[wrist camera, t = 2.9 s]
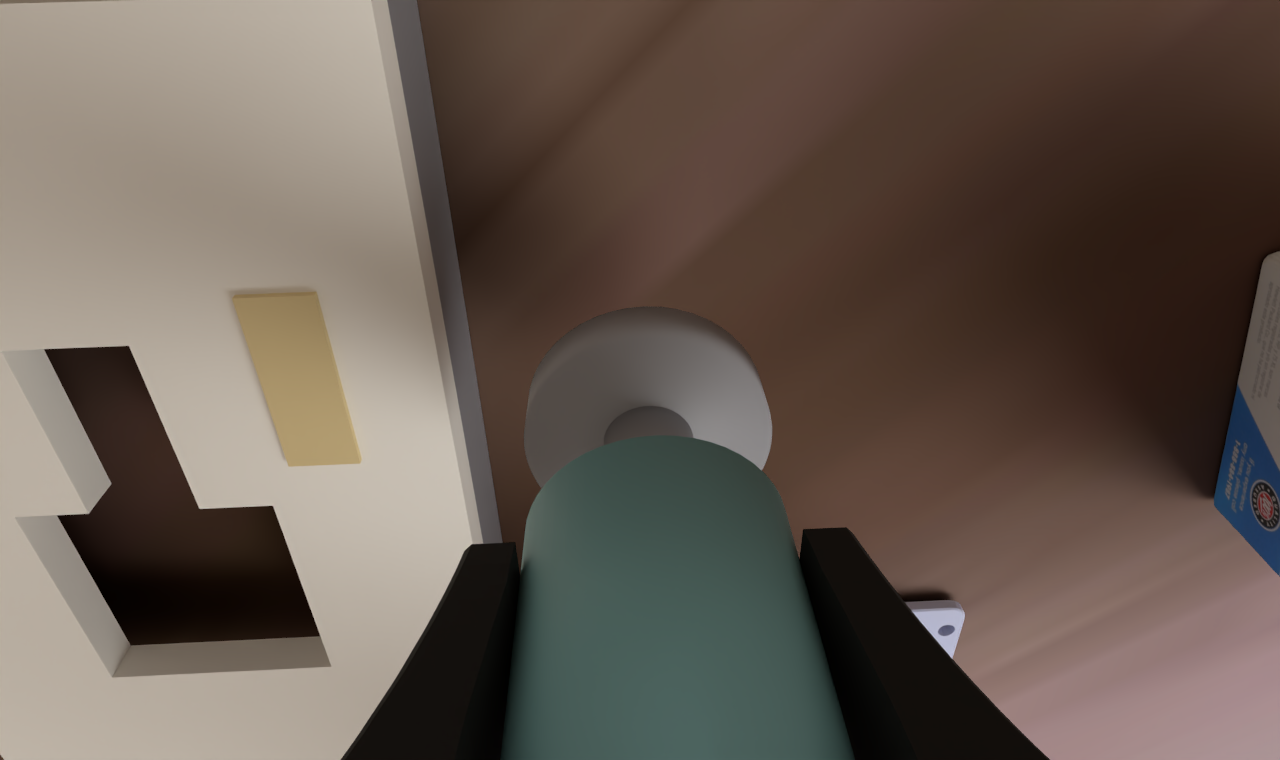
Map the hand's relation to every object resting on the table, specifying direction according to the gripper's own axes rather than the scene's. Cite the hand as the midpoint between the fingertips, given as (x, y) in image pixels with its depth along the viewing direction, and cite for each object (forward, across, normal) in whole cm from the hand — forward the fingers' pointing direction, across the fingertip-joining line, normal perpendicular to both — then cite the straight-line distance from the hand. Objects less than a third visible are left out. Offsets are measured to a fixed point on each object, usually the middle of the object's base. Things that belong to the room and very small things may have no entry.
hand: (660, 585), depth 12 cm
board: (+9, +11, +3) cm, 14 cm away
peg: (+4, 0, 0) cm, 4 cm away
